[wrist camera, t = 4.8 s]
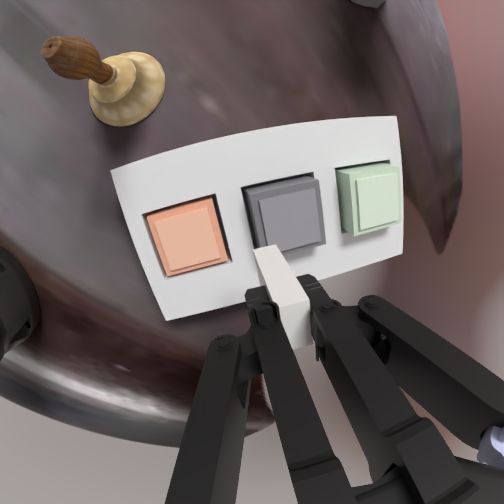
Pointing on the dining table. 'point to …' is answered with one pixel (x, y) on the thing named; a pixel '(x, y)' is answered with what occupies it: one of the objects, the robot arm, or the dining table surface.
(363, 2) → the coffeepot
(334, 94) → the dining table surface
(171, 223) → the terracotta key
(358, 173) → the sage key
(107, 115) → the hand bell
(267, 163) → the white button panel
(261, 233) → the charcoal key
